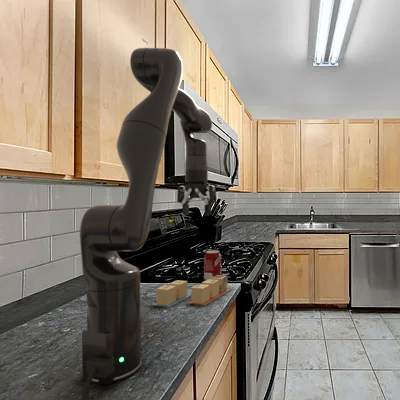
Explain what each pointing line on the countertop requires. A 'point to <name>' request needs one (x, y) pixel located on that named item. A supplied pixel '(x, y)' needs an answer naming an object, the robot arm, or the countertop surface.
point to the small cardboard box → (221, 282)
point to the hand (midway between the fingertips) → (196, 215)
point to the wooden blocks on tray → (205, 292)
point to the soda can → (212, 264)
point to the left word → (172, 293)
